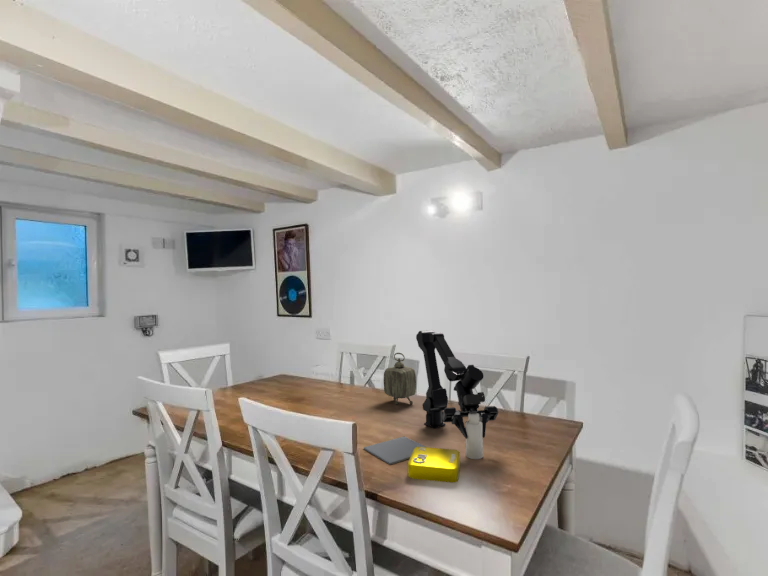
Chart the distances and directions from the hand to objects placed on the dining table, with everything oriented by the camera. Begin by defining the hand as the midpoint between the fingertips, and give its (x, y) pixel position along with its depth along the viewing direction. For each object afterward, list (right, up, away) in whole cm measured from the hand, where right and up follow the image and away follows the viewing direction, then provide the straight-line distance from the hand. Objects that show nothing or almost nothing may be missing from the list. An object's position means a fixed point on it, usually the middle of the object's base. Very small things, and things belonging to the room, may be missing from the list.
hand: (475, 437), depth 135 cm
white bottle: (0, -7, +1) cm, 7 cm away
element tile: (-15, -7, -8) cm, 18 cm away
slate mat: (-26, -7, +7) cm, 27 cm away
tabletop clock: (-23, -7, +65) cm, 69 cm away
